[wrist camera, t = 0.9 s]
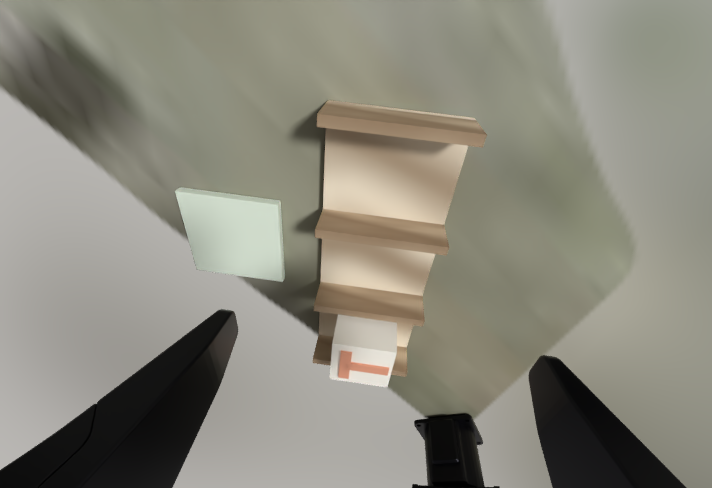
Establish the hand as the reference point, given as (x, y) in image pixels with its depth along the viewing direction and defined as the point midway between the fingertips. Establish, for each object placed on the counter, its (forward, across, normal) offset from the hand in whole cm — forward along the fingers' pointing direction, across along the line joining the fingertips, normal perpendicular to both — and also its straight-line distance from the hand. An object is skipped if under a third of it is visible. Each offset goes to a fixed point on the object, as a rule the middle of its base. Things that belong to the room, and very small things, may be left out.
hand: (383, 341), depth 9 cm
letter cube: (+12, 0, +13) cm, 18 cm away
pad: (+12, +10, +6) cm, 18 cm away
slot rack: (+12, 0, +7) cm, 14 cm away
